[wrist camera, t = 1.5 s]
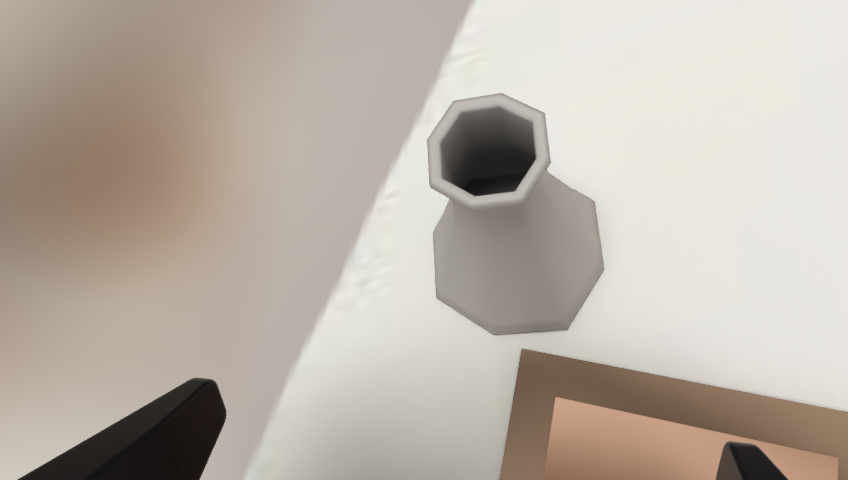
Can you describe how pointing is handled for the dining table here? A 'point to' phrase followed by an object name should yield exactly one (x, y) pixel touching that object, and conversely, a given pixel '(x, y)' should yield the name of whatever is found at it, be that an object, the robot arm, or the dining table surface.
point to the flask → (508, 220)
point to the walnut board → (655, 426)
